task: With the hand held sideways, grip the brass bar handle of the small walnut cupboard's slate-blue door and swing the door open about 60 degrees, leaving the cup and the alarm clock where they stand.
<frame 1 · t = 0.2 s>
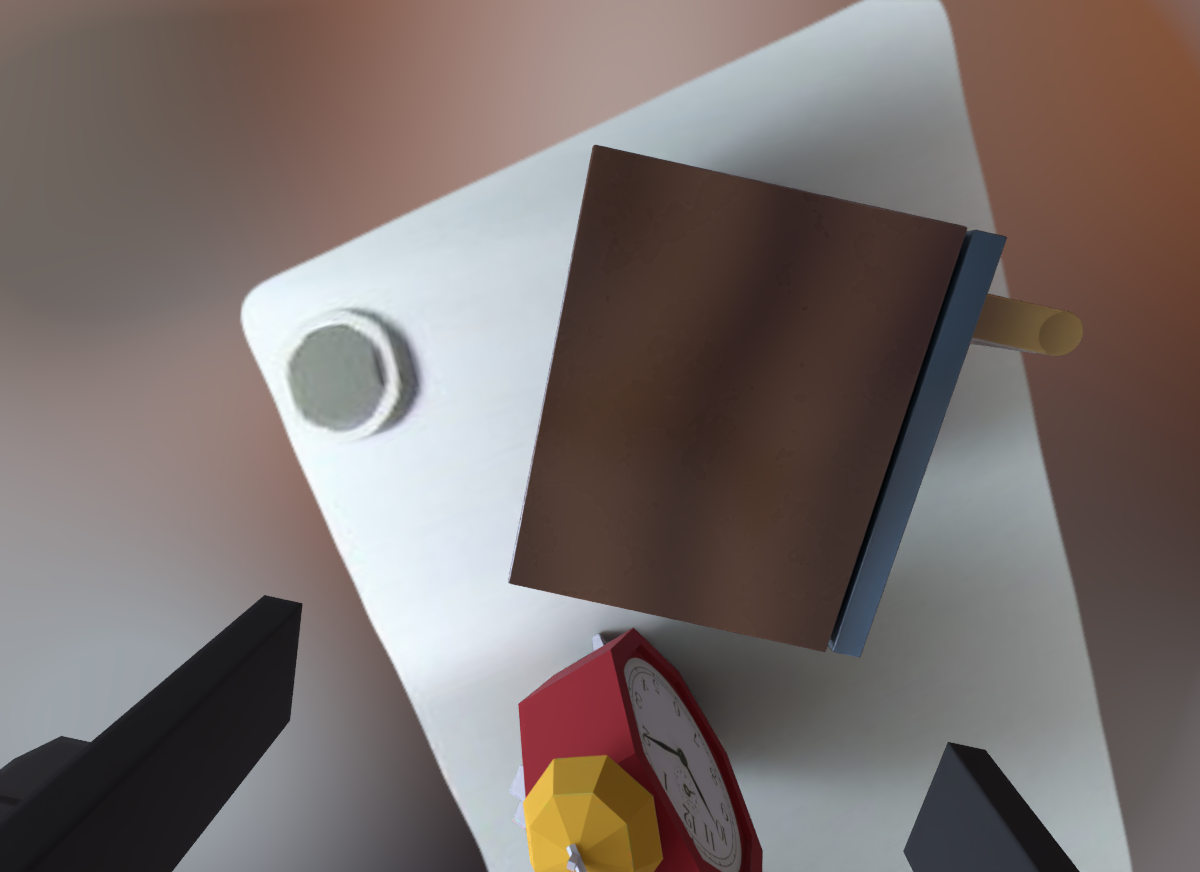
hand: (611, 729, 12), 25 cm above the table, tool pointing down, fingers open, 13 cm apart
door: (892, 425, 28), point 9 cm above the table, hinge at 0.0°
cupboard: (677, 361, 36), on the table
alarm clock: (626, 699, 41), on the table
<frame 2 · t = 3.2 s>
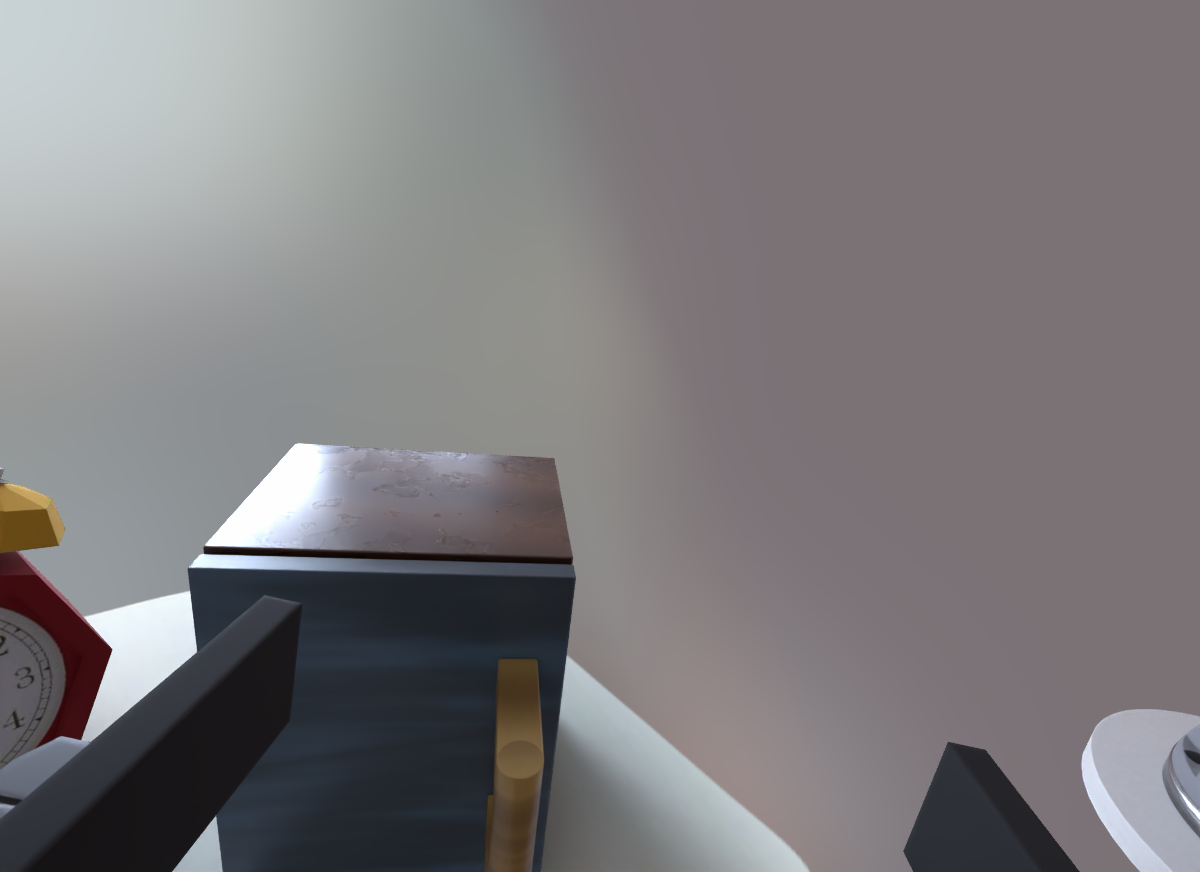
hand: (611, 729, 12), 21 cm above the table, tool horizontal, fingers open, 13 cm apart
door: (379, 796, 24), point 8 cm above the table, hinge at 0.0°
cupboard: (410, 766, 35), on the table
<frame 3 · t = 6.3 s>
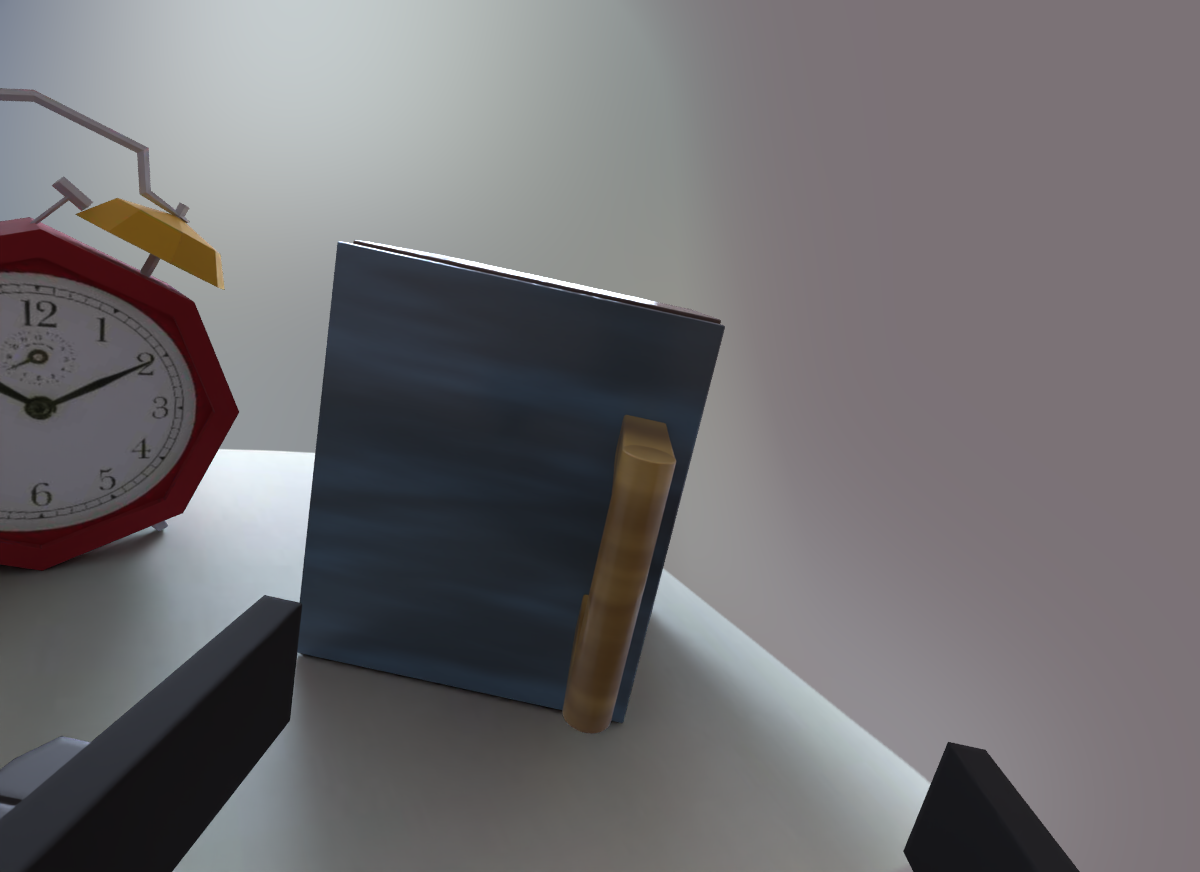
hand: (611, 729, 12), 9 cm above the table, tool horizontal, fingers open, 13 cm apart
door: (476, 525, 22), point 8 cm above the table, hinge at 0.0°
cupboard: (492, 609, 32), on the table
alarm clock: (35, 536, 30), on the table
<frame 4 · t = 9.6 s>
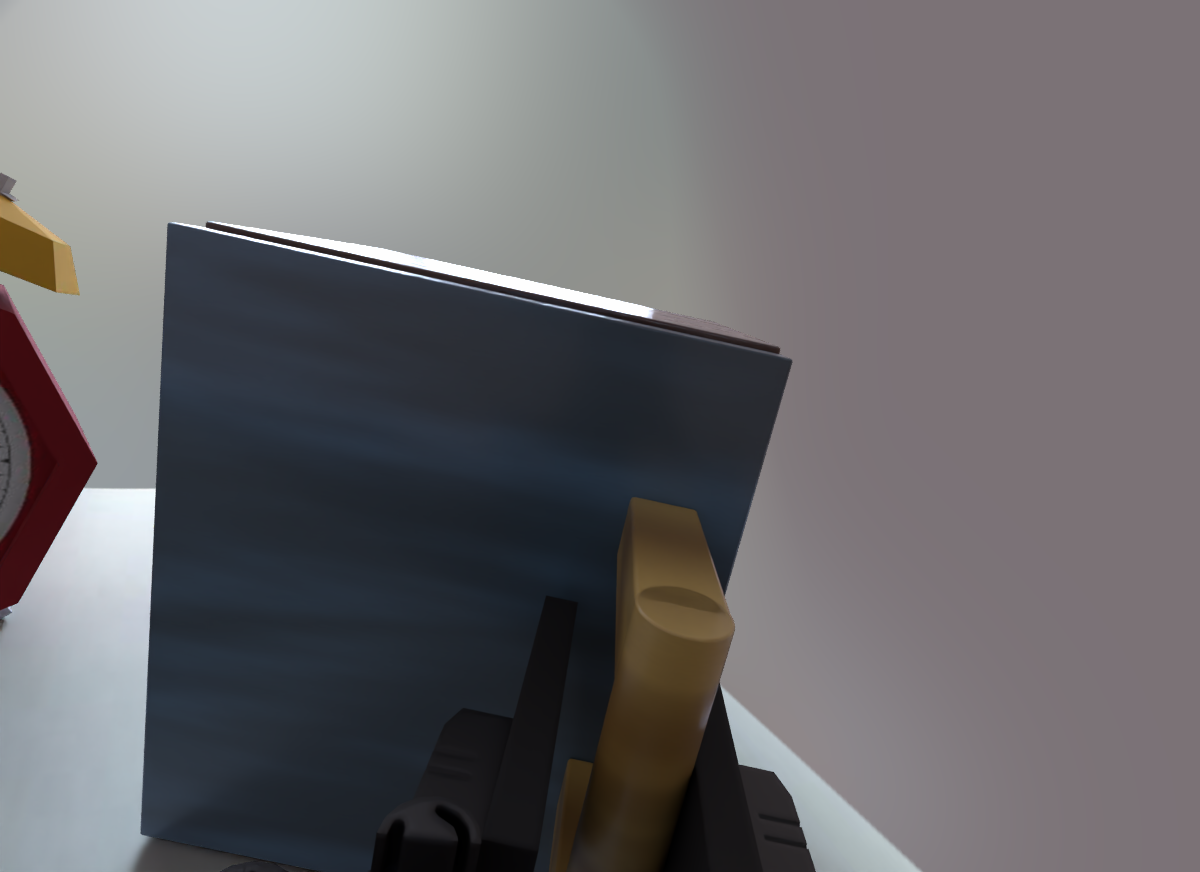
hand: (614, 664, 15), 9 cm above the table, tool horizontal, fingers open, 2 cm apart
door: (392, 685, 13), point 8 cm above the table, hinge at 0.0°, touching gripper
cupboard: (449, 725, 24), on the table
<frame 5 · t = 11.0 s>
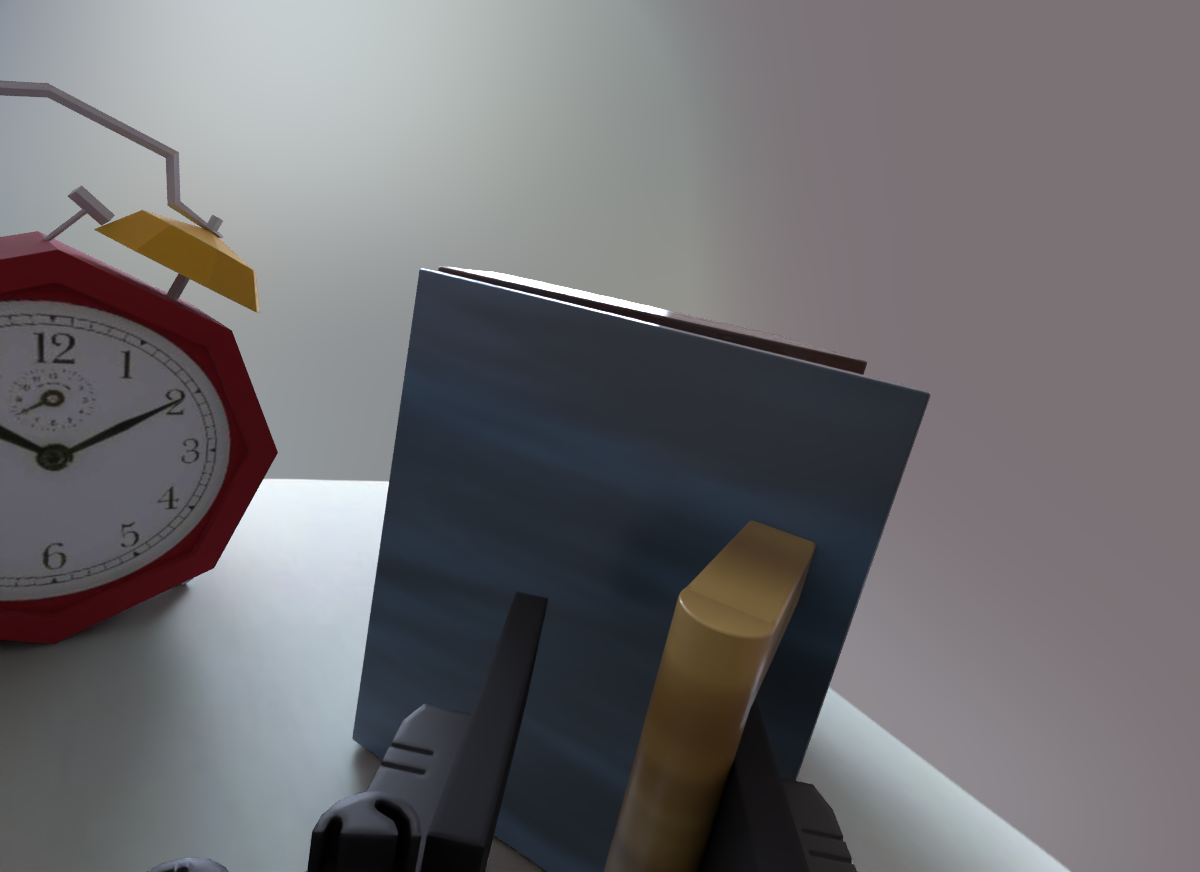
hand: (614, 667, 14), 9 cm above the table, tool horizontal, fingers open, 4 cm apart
door: (515, 649, 15), point 8 cm above the table, hinge at 25.6°, touching gripper
cupboard: (563, 671, 29), on the table
alarm clock: (42, 596, 26), on the table
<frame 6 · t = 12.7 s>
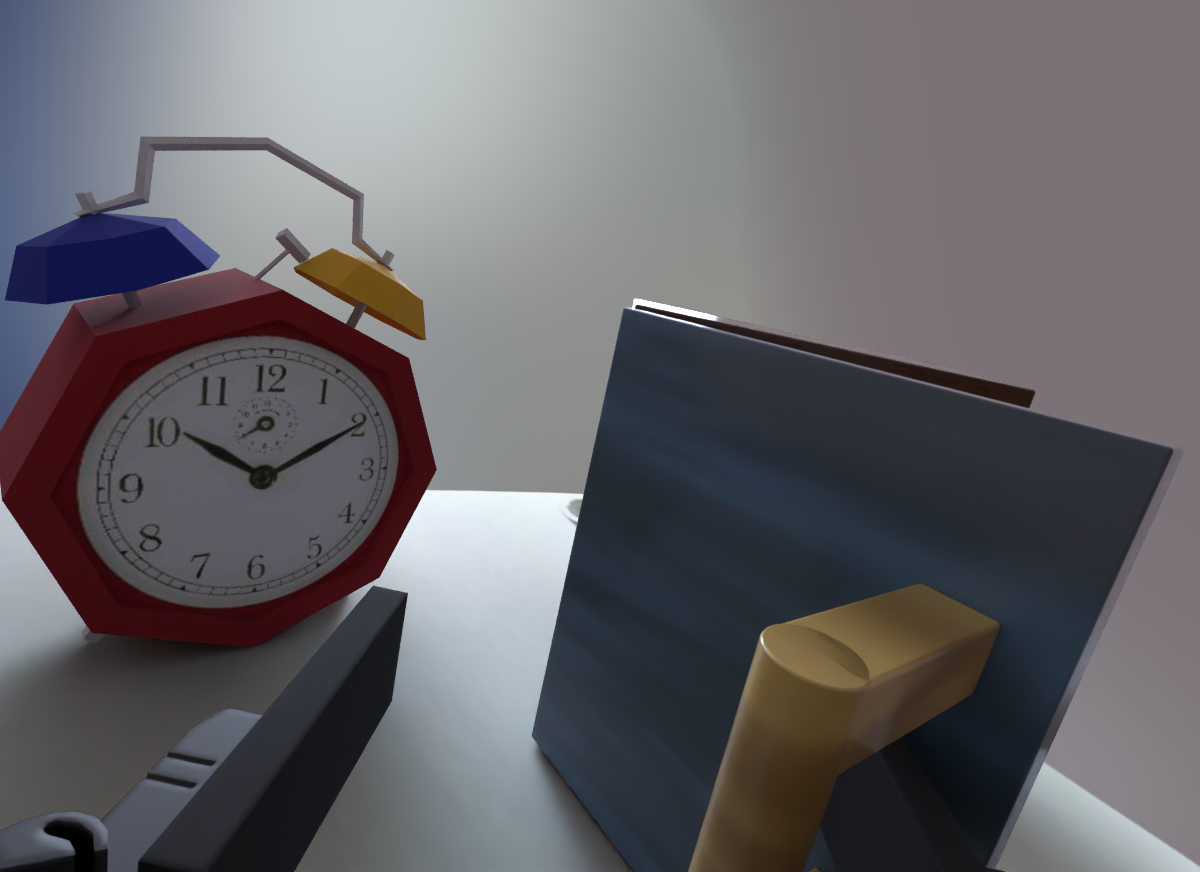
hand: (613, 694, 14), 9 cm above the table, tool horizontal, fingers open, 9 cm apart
door: (651, 673, 15), point 8 cm above the table, hinge at 50.0°, touching gripper
cupboard: (698, 676, 31), on the table
alarm clock: (225, 603, 29), on the table
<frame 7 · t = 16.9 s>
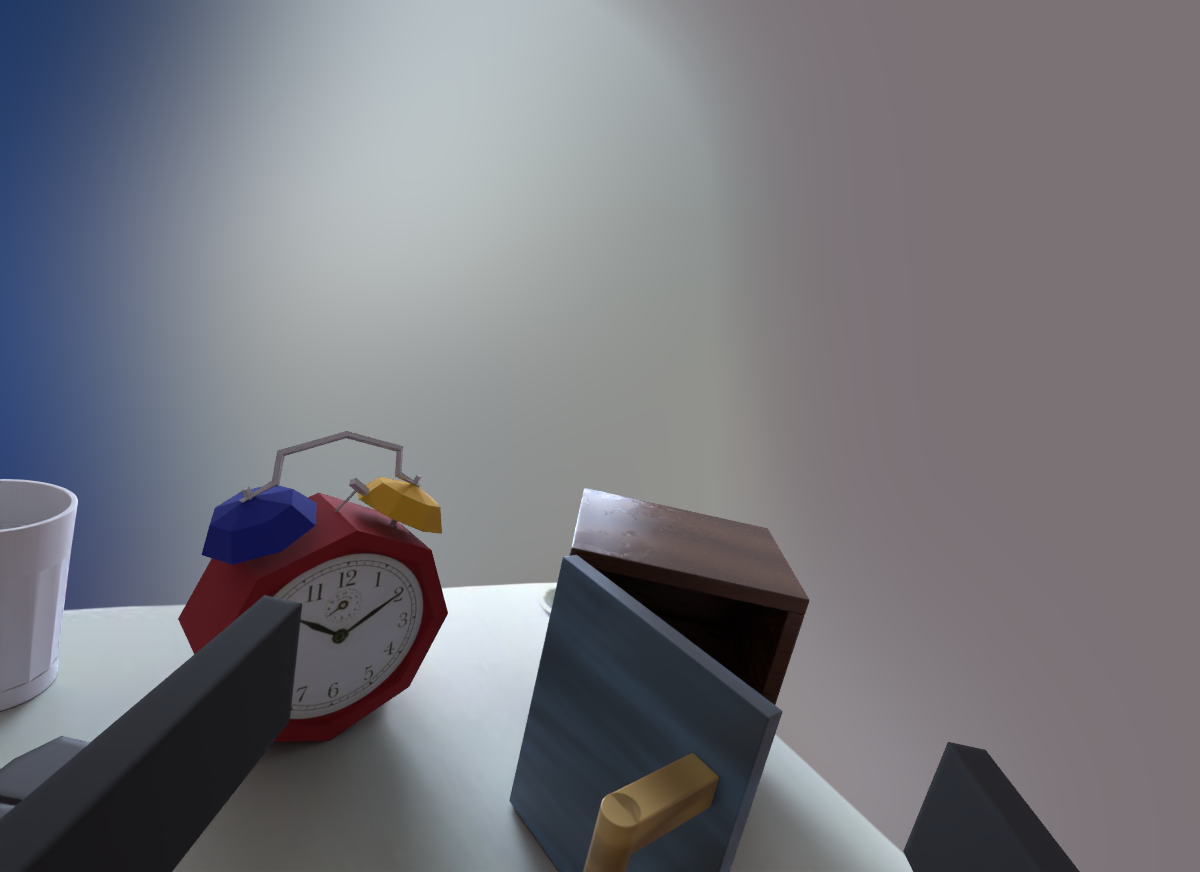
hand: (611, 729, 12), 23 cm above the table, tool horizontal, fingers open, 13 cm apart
door: (573, 786, 30), point 9 cm above the table, hinge at 47.9°
cupboard: (625, 751, 45), on the table
alarm clock: (305, 705, 43), on the table
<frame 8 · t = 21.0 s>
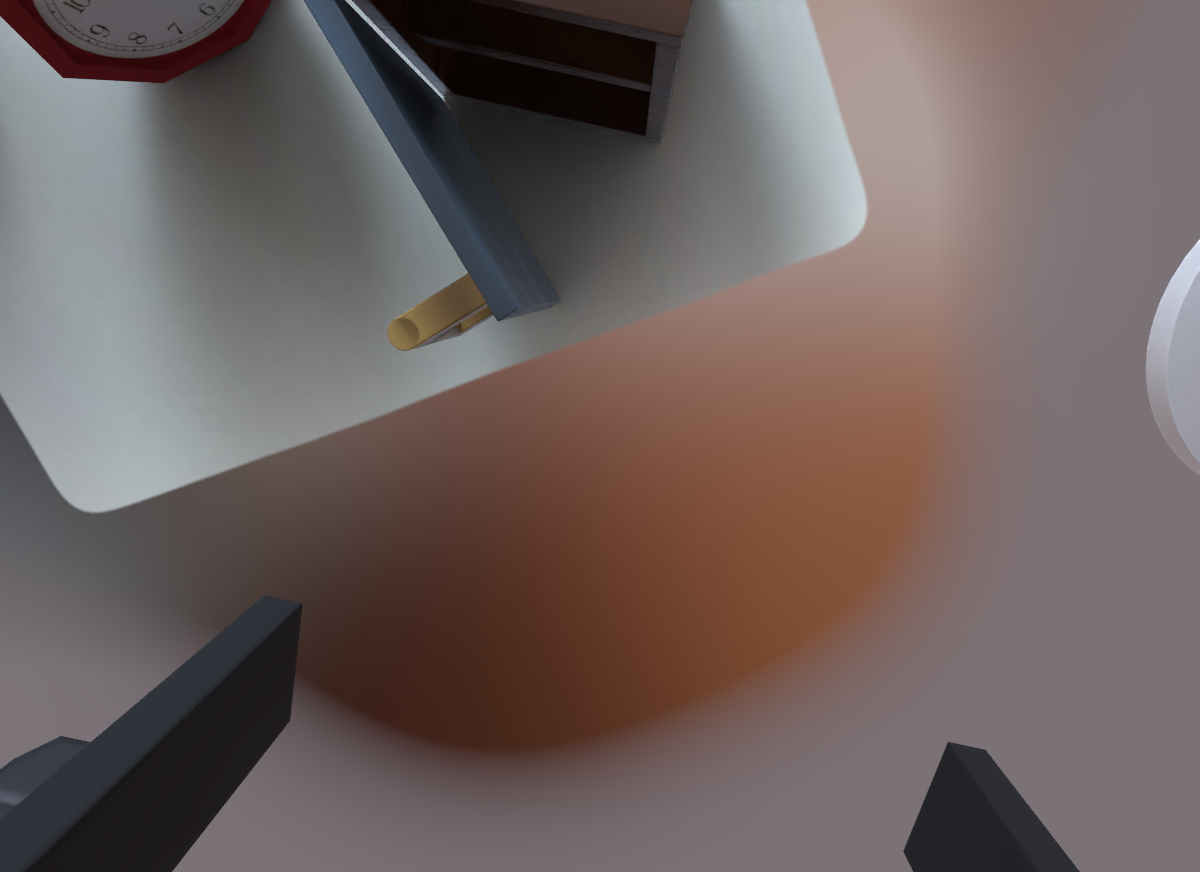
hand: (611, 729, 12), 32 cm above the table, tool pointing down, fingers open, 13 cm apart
door: (420, 219, 33), point 8 cm above the table, hinge at 47.9°
cupboard: (568, 22, 38), on the table
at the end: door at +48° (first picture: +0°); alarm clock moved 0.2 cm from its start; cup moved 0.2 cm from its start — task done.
